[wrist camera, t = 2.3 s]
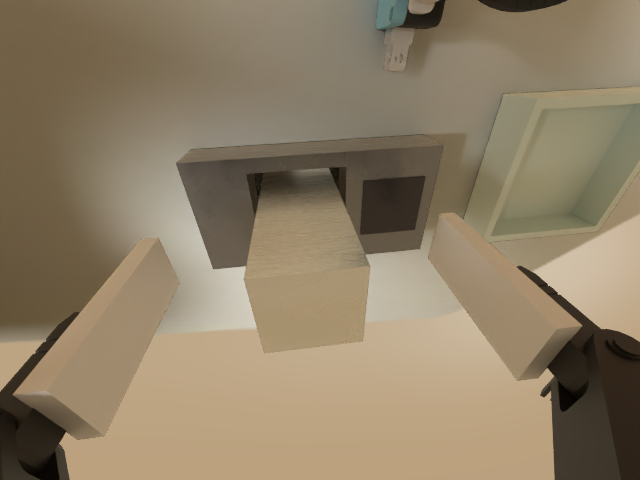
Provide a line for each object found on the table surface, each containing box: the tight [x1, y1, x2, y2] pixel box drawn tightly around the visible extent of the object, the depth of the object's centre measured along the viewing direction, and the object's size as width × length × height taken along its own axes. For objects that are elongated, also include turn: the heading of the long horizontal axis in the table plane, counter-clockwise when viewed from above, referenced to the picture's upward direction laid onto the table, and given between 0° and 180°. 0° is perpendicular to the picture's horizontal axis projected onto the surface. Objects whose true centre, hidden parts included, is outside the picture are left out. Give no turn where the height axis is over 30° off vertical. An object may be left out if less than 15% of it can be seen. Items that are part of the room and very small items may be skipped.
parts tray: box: [463, 87, 640, 242], centre depth 17 cm, size 9×9×2 cm
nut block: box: [244, 168, 370, 353], centre depth 13 cm, size 4×4×10 cm
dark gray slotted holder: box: [176, 135, 443, 269], centre depth 17 cm, size 14×7×3 cm, turn 92°
